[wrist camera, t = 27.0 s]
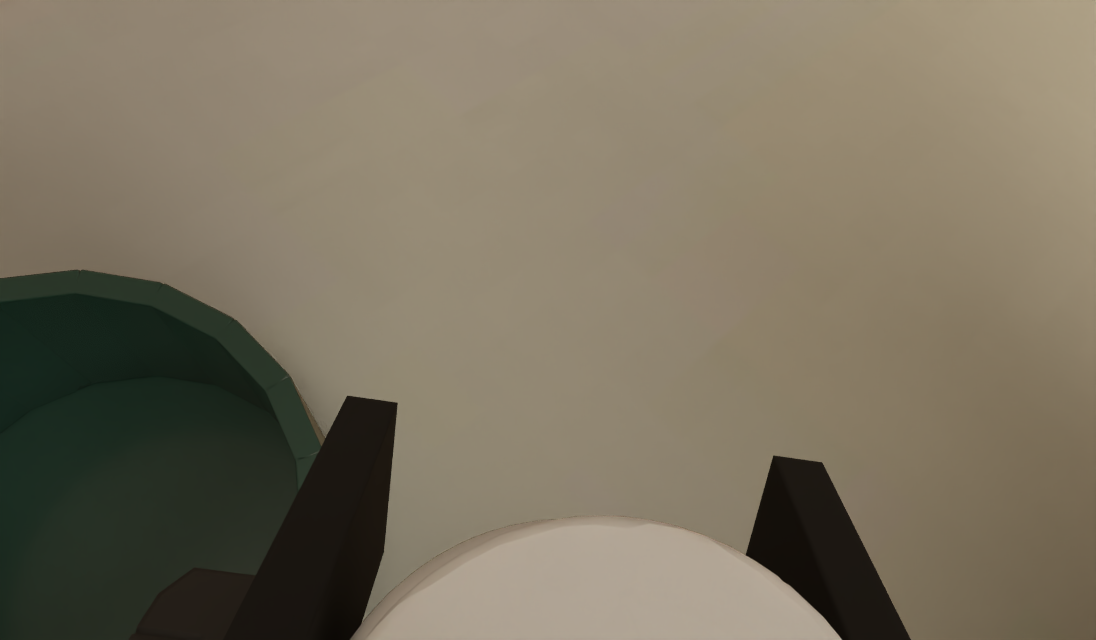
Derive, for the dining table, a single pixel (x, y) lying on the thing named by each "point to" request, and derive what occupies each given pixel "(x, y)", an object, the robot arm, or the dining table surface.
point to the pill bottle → (593, 588)
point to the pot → (133, 450)
